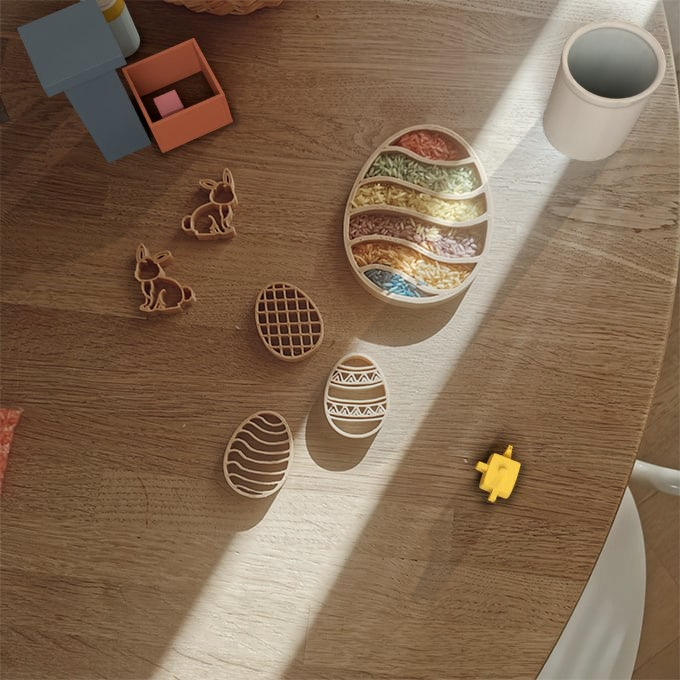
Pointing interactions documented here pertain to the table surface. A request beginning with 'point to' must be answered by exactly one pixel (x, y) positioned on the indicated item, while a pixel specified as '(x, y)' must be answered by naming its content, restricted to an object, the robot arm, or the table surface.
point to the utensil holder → (602, 88)
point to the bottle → (120, 25)
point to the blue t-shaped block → (86, 74)
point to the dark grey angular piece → (3, 113)
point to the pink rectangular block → (168, 104)
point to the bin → (167, 71)
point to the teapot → (498, 474)
